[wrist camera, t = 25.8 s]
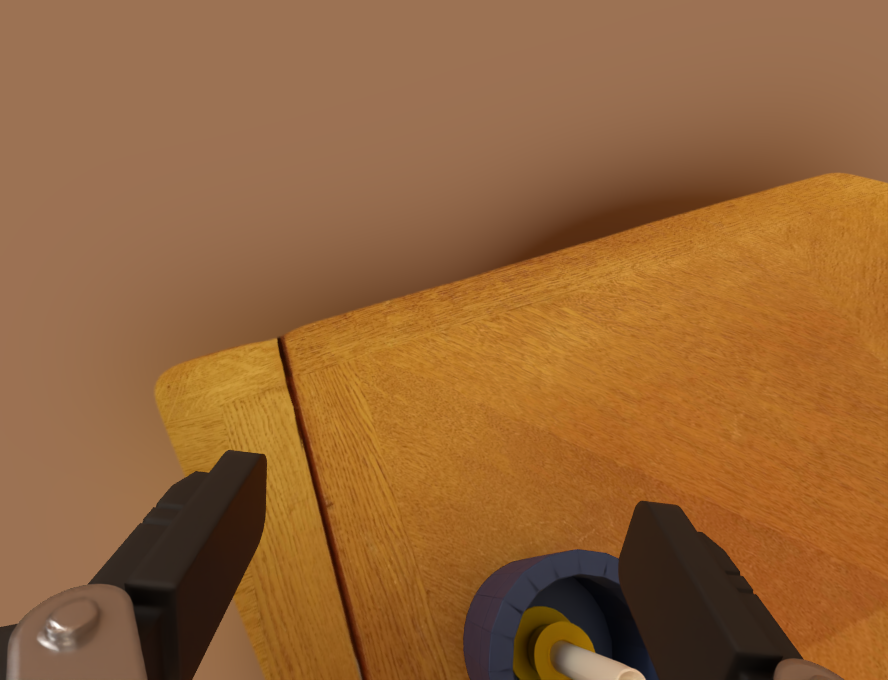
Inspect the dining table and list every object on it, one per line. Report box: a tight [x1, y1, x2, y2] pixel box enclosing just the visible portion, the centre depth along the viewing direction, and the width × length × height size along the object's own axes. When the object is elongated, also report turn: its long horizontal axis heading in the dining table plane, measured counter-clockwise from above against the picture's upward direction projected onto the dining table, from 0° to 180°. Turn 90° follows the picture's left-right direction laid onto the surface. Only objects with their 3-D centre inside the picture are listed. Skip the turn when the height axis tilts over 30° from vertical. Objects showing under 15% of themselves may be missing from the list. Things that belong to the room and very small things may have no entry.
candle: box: [513, 606, 646, 680], centre depth 28 cm, size 5×5×16 cm
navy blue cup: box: [463, 549, 659, 680], centre depth 31 cm, size 11×11×11 cm
